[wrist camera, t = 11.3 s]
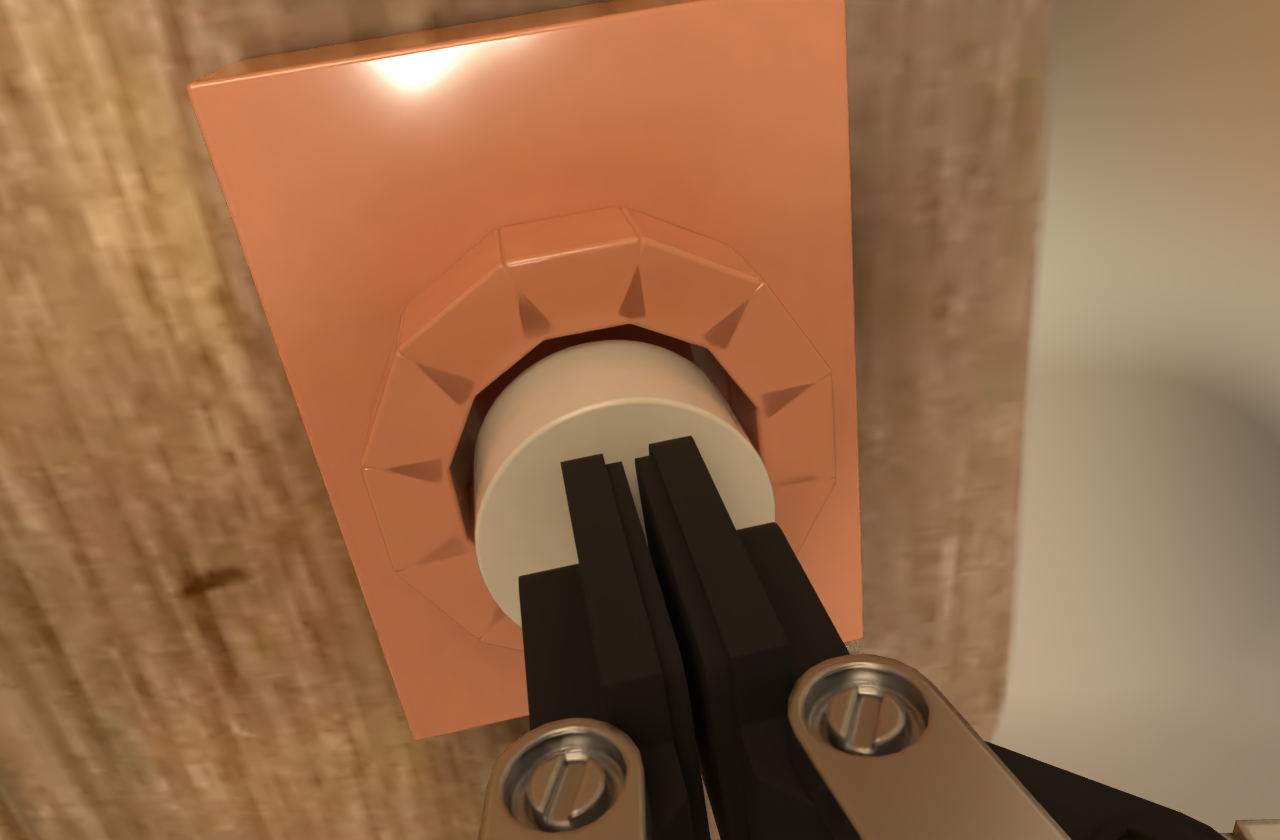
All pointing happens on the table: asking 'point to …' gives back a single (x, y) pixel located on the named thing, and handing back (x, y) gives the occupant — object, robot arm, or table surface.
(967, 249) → the table surface
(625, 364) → the button
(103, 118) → the table surface
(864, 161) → the table surface
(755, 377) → the orange button base
